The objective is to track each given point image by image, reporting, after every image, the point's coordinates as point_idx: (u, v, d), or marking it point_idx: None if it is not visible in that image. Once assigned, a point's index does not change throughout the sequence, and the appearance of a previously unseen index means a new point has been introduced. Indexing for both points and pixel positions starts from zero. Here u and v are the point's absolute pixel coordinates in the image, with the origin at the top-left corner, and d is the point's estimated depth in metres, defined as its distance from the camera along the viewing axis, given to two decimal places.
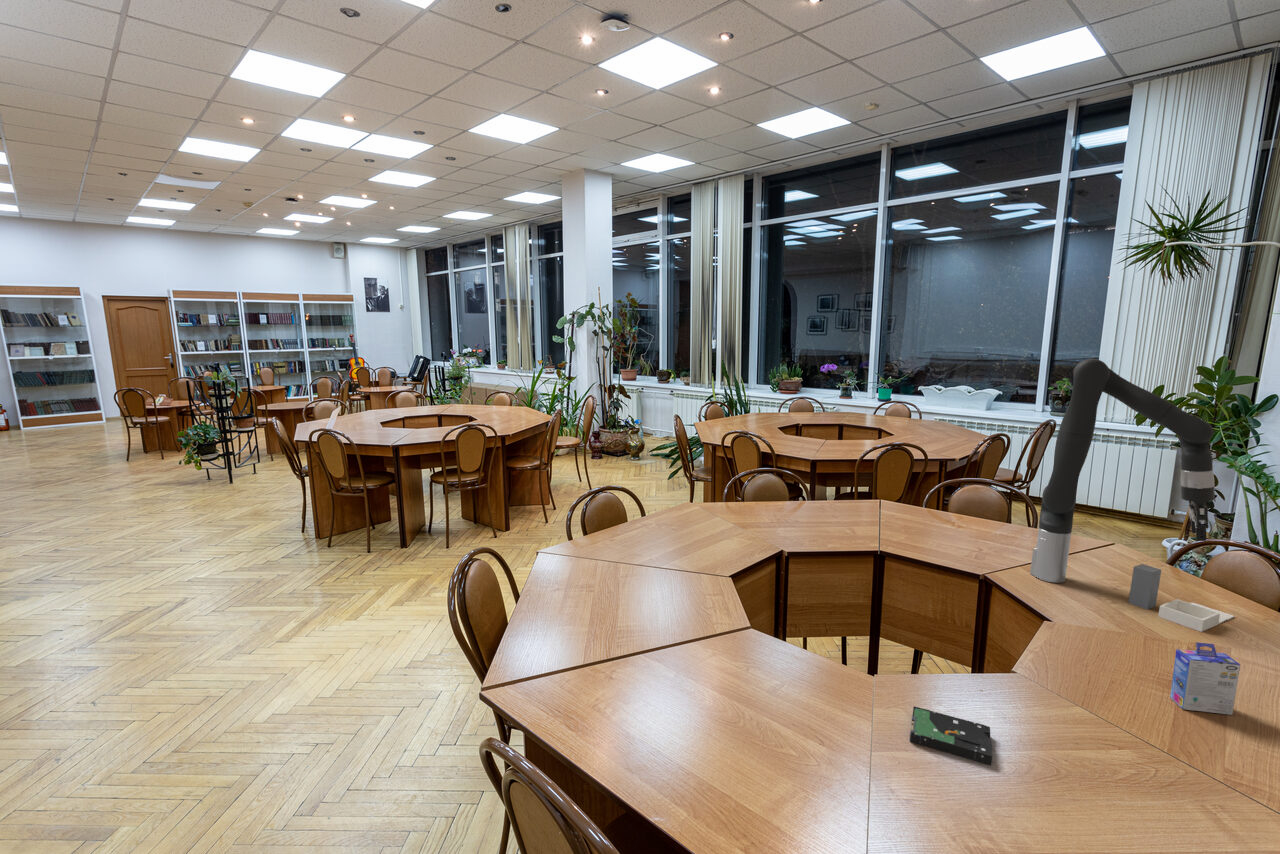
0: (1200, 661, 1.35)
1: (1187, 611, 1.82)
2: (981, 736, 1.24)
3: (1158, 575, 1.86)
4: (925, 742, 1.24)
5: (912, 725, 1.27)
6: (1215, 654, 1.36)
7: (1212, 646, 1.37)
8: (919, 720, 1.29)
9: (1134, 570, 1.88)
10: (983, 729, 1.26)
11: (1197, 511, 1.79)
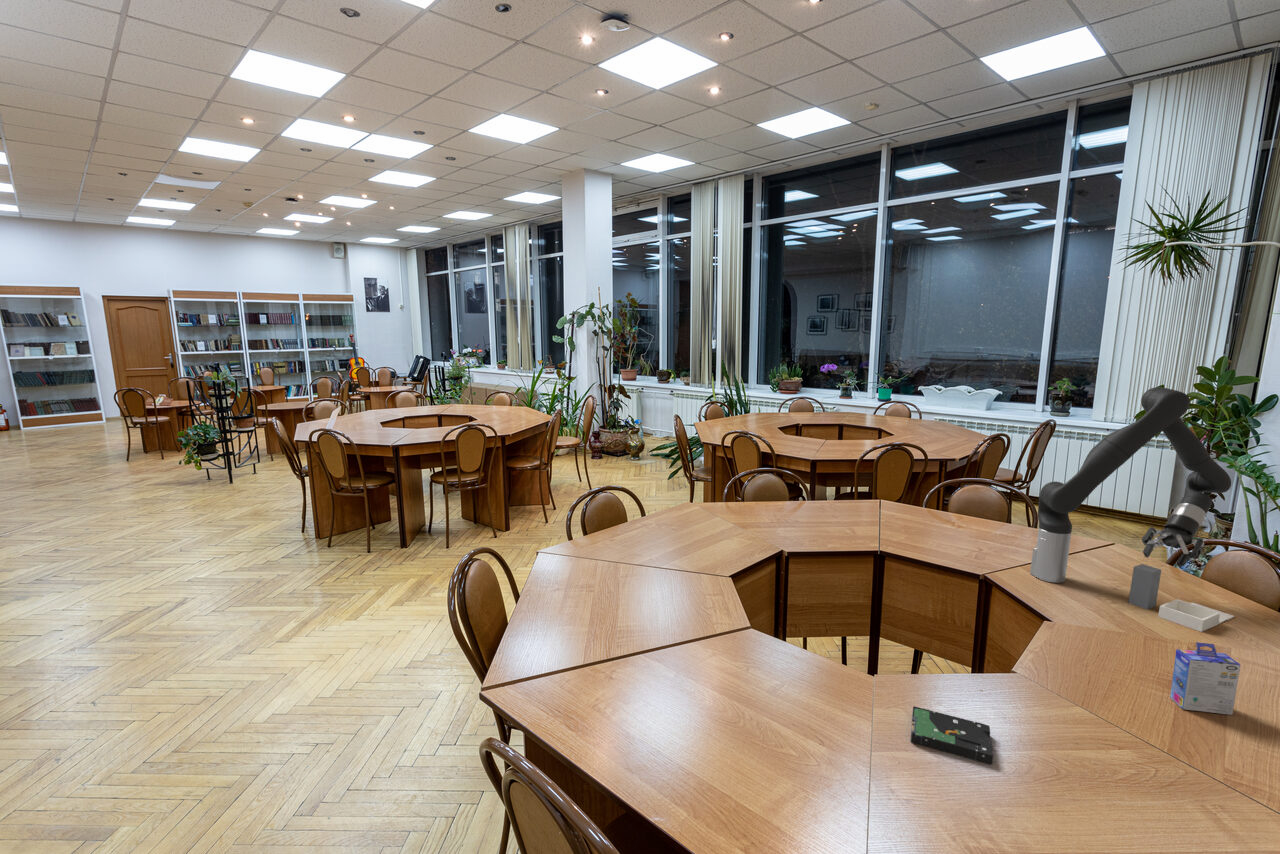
0: (1200, 661, 1.34)
1: (1187, 611, 1.82)
2: (981, 736, 1.24)
3: (1158, 575, 1.86)
4: (926, 742, 1.23)
5: (913, 725, 1.27)
6: (1216, 654, 1.36)
7: (1212, 646, 1.37)
8: (920, 721, 1.28)
9: (1134, 570, 1.88)
10: (983, 728, 1.26)
11: (1201, 542, 1.86)
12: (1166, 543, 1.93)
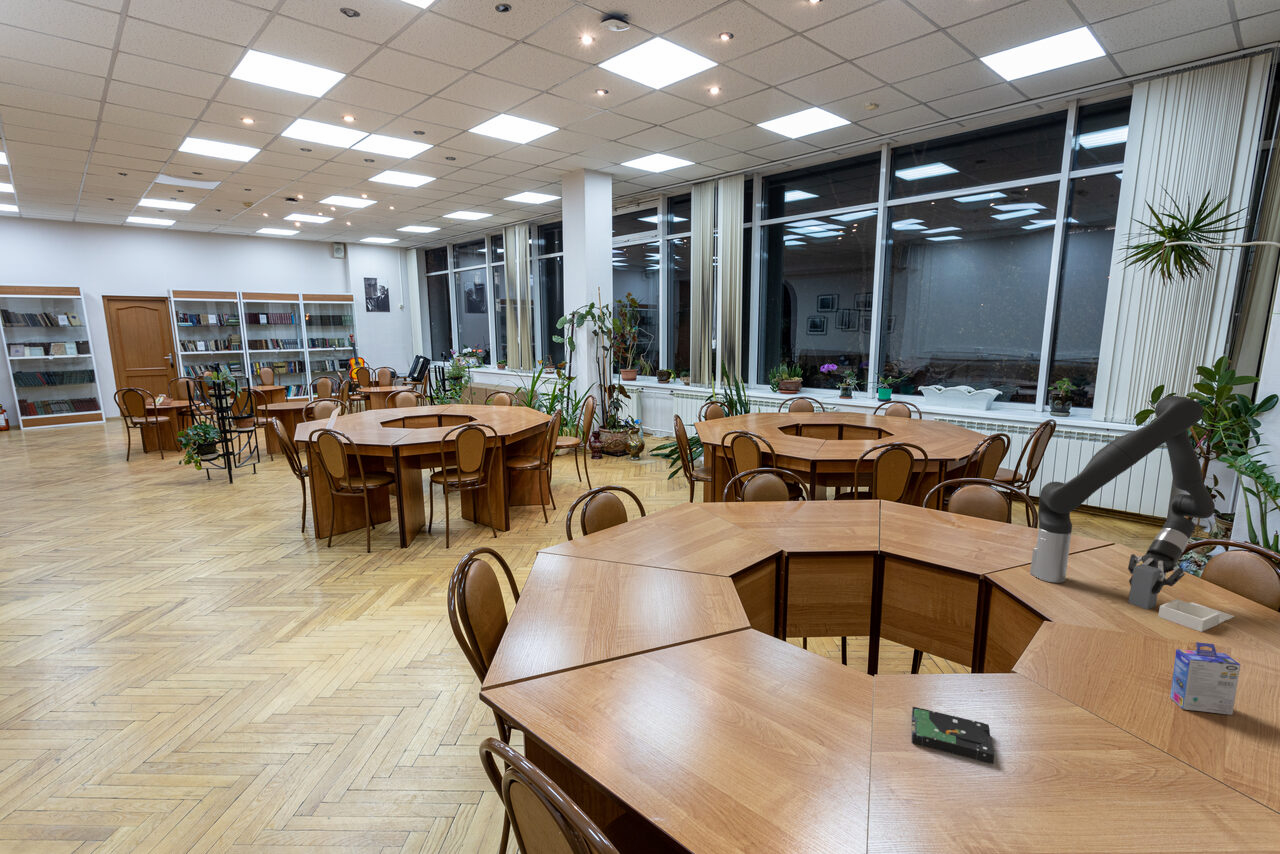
0: (1200, 661, 1.35)
1: (1187, 611, 1.82)
2: (982, 735, 1.24)
3: (1158, 575, 1.86)
4: (927, 743, 1.23)
5: (913, 726, 1.27)
6: (1215, 654, 1.36)
7: (1212, 646, 1.37)
8: (920, 721, 1.28)
9: (1134, 570, 1.88)
10: (982, 727, 1.26)
11: (1181, 571, 1.83)
12: None
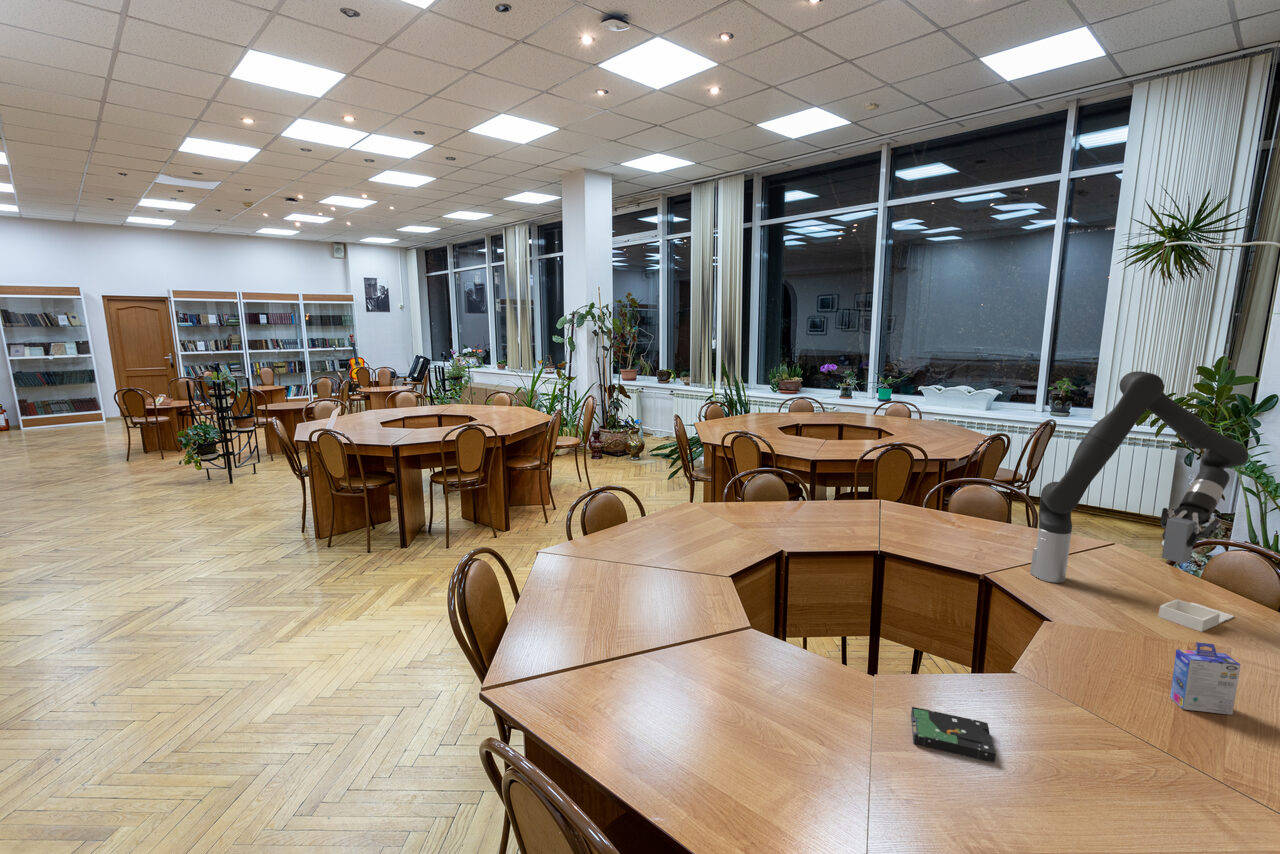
0: (1200, 661, 1.34)
1: (1187, 611, 1.82)
2: (982, 733, 1.25)
3: (1193, 527, 1.78)
4: (929, 743, 1.23)
5: (914, 727, 1.27)
6: (1216, 654, 1.36)
7: (1212, 646, 1.37)
8: (920, 721, 1.28)
9: (1168, 523, 1.80)
10: (982, 726, 1.27)
11: (1218, 522, 1.75)
12: None
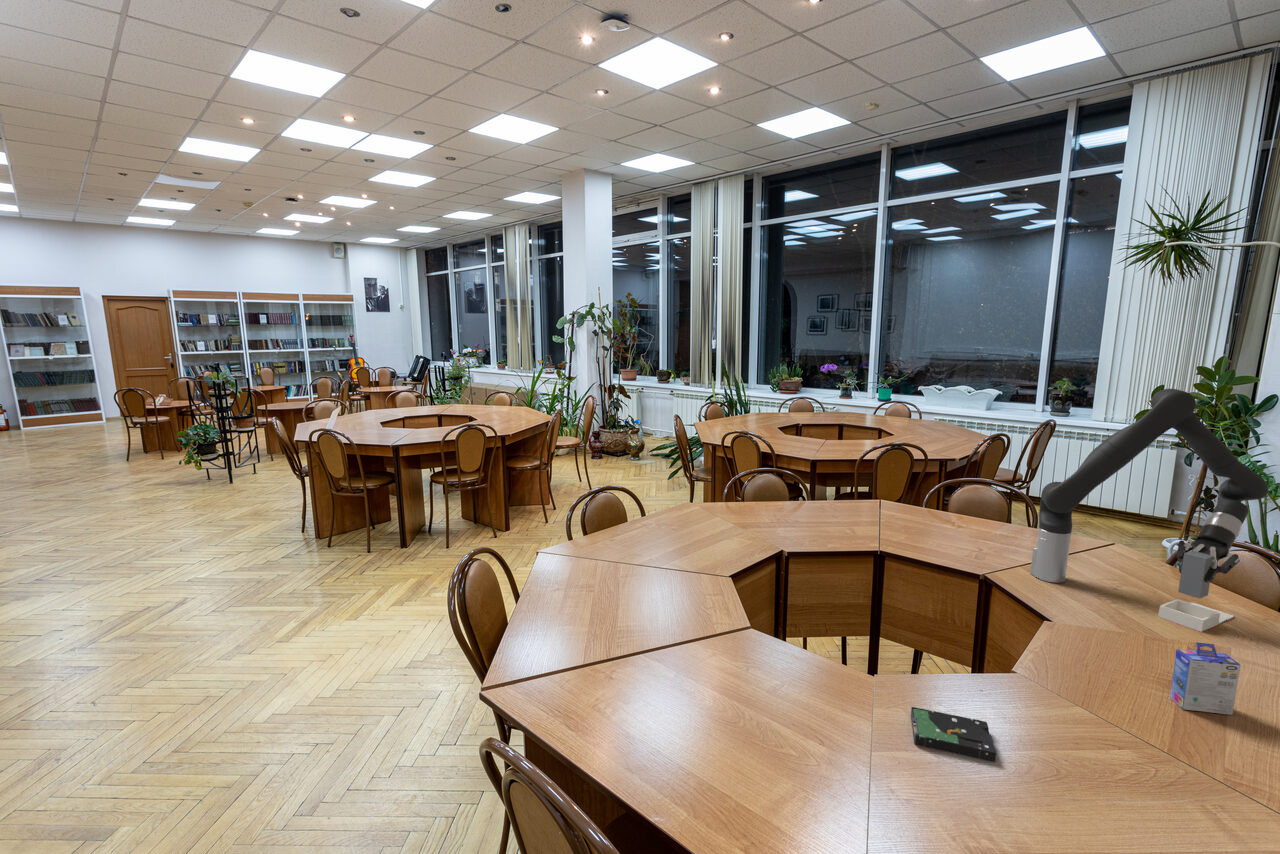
0: (1200, 661, 1.34)
1: (1187, 611, 1.82)
2: (981, 733, 1.25)
3: (1211, 562, 1.74)
4: (930, 744, 1.23)
5: (915, 727, 1.27)
6: (1216, 654, 1.36)
7: (1212, 646, 1.37)
8: (921, 721, 1.28)
9: (1184, 557, 1.77)
10: (981, 725, 1.27)
11: (1236, 557, 1.72)
12: None
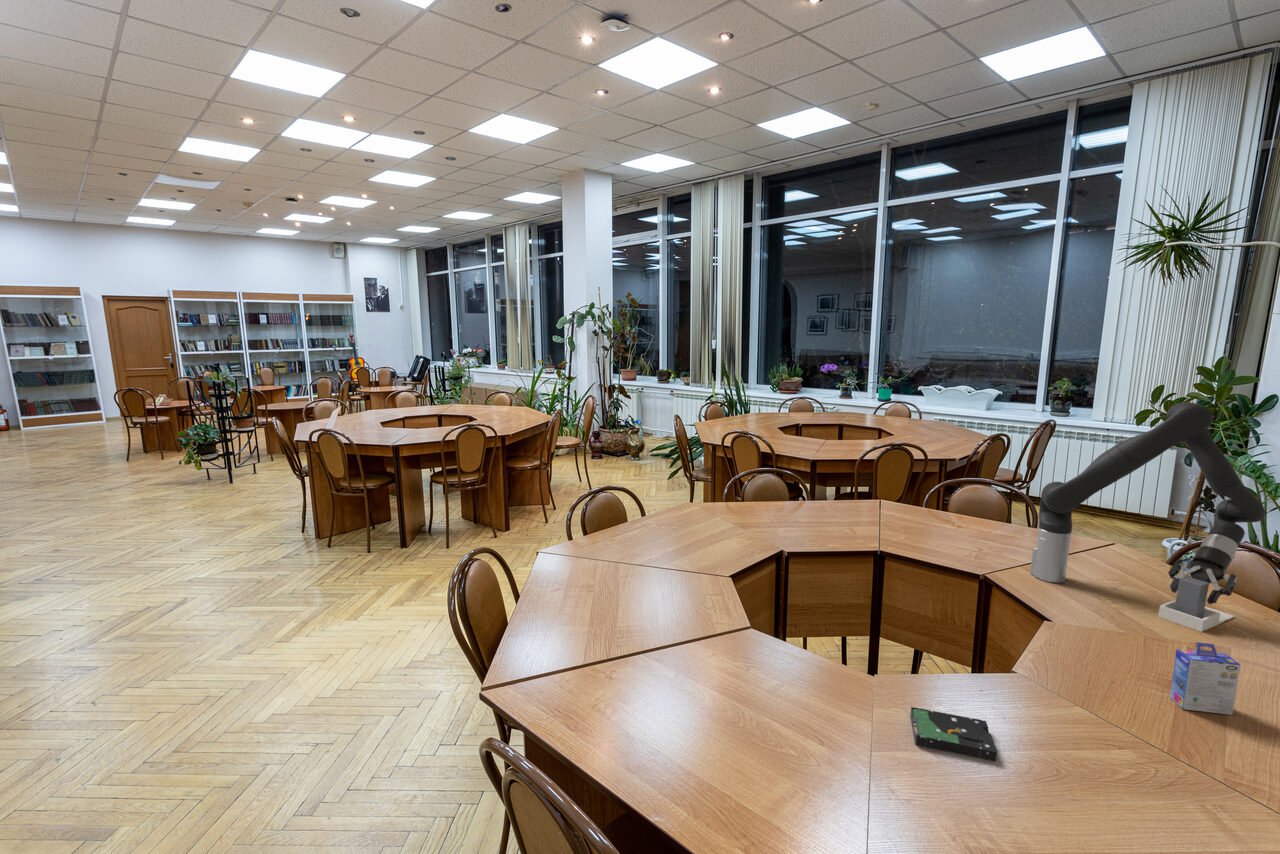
0: (1200, 661, 1.34)
1: None
2: (981, 732, 1.25)
3: (1206, 588, 1.76)
4: (931, 744, 1.23)
5: (915, 727, 1.26)
6: (1216, 654, 1.36)
7: (1212, 646, 1.37)
8: (921, 722, 1.28)
9: (1180, 583, 1.78)
10: (981, 724, 1.27)
11: (1234, 577, 1.73)
12: (1195, 577, 1.79)
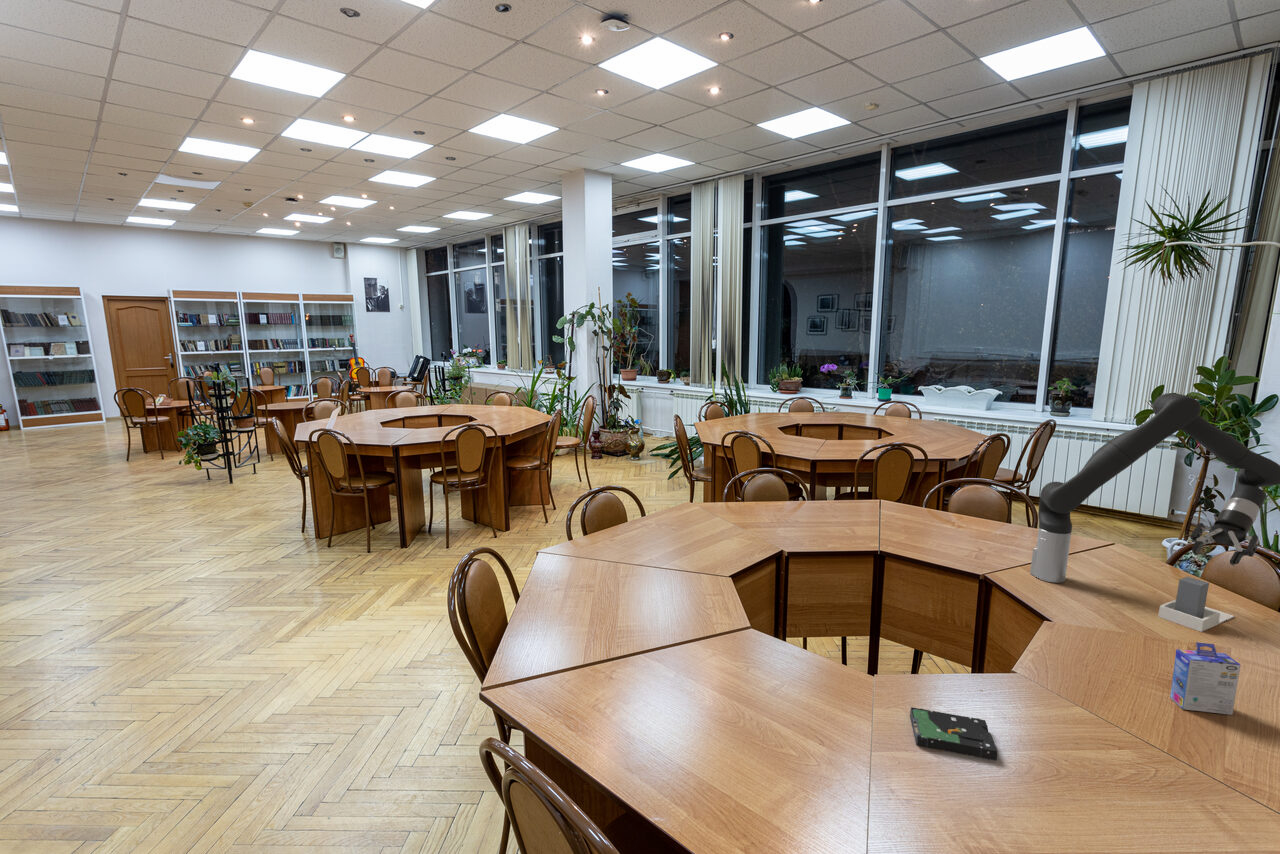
0: (1200, 661, 1.34)
1: None
2: (981, 731, 1.25)
3: (1206, 588, 1.76)
4: (932, 744, 1.23)
5: (916, 728, 1.26)
6: (1216, 654, 1.36)
7: (1212, 646, 1.37)
8: (921, 722, 1.28)
9: (1180, 583, 1.78)
10: (980, 723, 1.28)
11: (1256, 539, 1.76)
12: (1217, 540, 1.82)
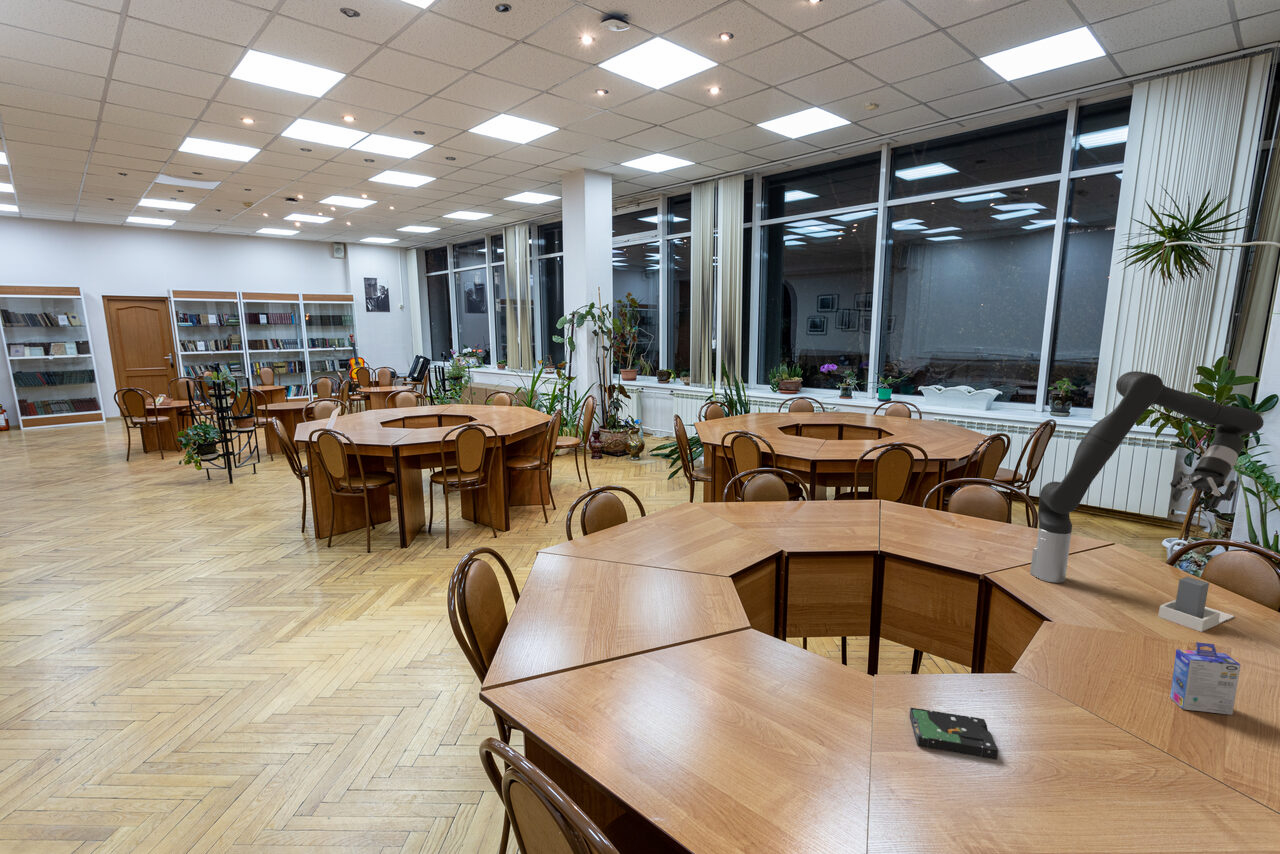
0: (1200, 661, 1.34)
1: None
2: (981, 731, 1.25)
3: (1206, 588, 1.76)
4: (933, 744, 1.23)
5: (916, 728, 1.26)
6: (1216, 654, 1.36)
7: (1212, 646, 1.37)
8: (921, 722, 1.28)
9: (1180, 583, 1.78)
10: (980, 722, 1.28)
11: (1234, 483, 1.79)
12: (1196, 486, 1.85)
